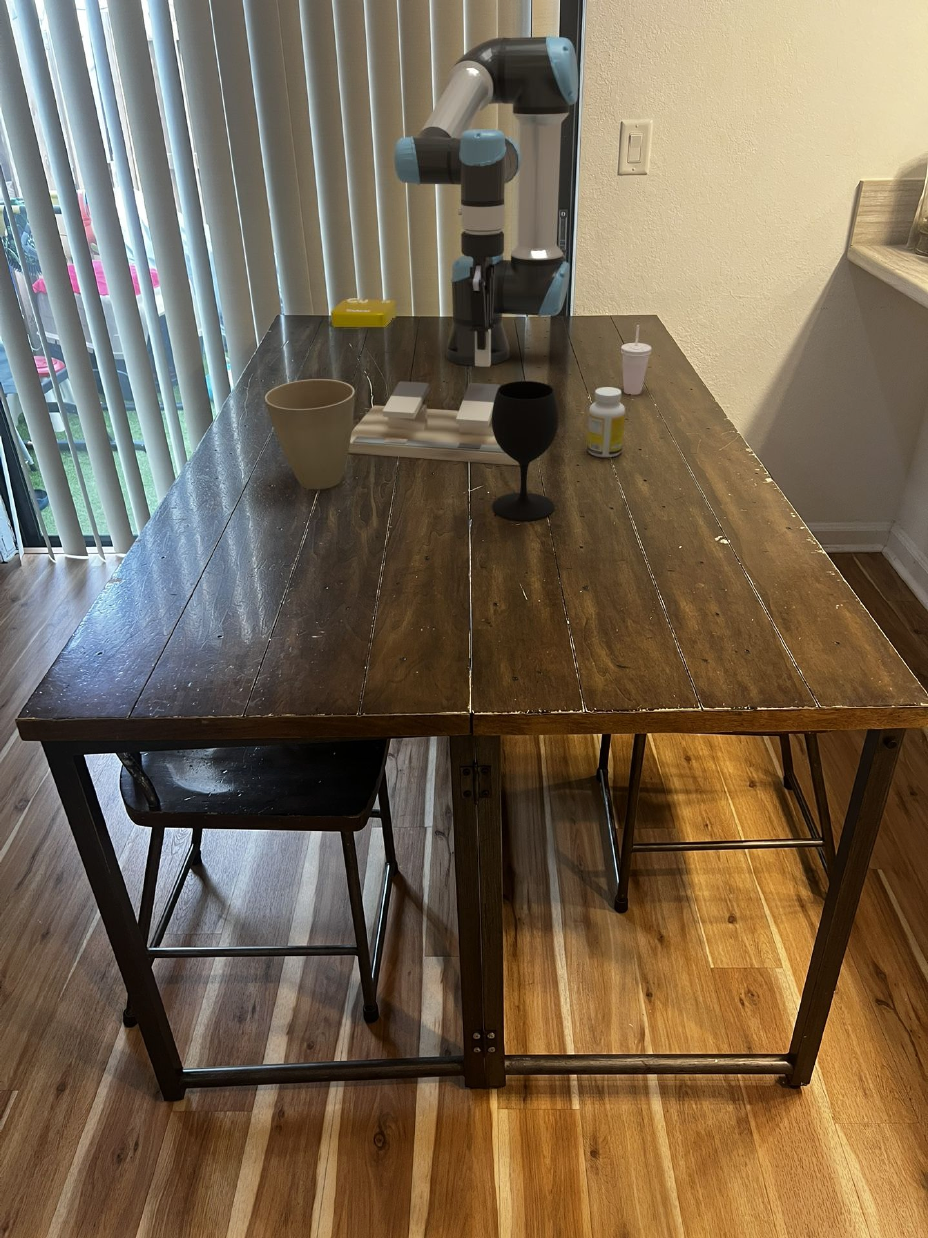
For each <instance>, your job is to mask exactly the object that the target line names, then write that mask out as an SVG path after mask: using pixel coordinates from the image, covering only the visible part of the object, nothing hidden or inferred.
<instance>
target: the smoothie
mask: <svg viewBox="0 0 928 1238" xmlns="http://www.w3.org/2000/svg"><path fill="white" fill-rule="evenodd" d="M635 330H636V331H635V340H634V342H631V343H630V342H629V343H625V344H623V345H621V348H620V352H621V354H622V357H621V358H622V376H623V377H622V378H623V379H622V380H623V393H624V394H626V395H629V394H631V395H630V396H636V395H640V394H642V391H643V386H644V381H645V377H646V373H647V367H648V362H649V359H650V354H652V347H651V345H649V344H646V343H642V342H639V335H640V325H639V324H637V325H636V329H635Z"/></svg>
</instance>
